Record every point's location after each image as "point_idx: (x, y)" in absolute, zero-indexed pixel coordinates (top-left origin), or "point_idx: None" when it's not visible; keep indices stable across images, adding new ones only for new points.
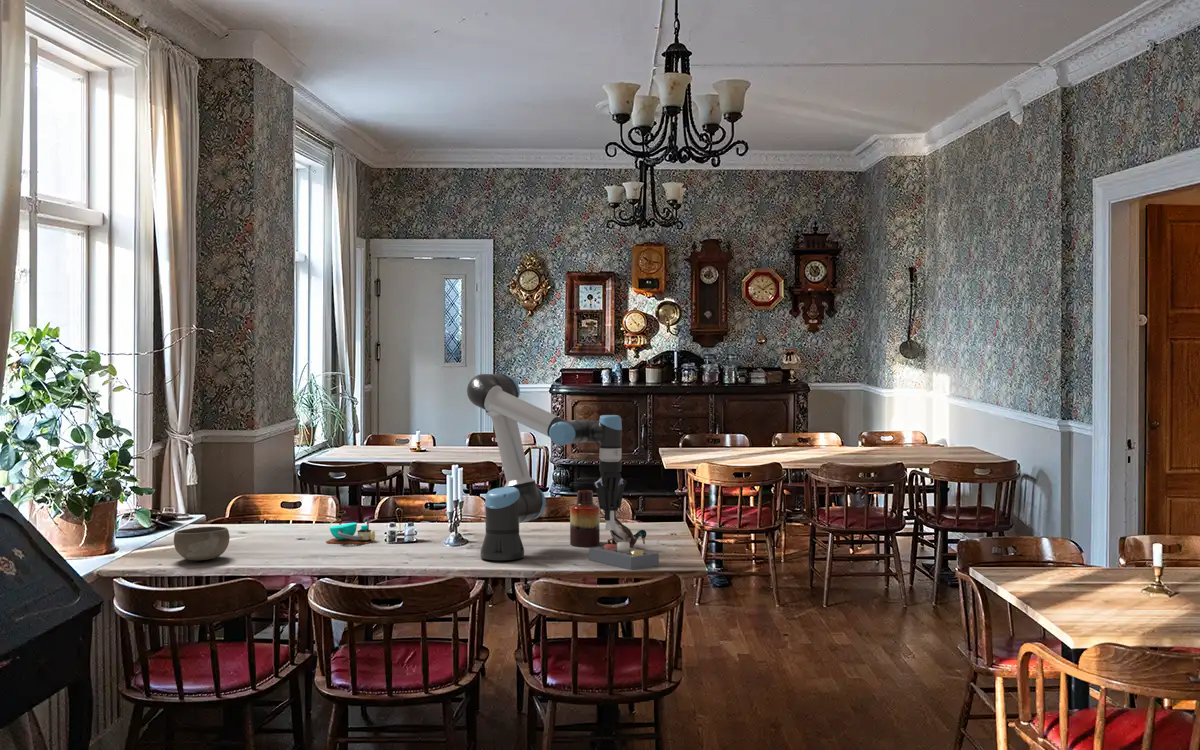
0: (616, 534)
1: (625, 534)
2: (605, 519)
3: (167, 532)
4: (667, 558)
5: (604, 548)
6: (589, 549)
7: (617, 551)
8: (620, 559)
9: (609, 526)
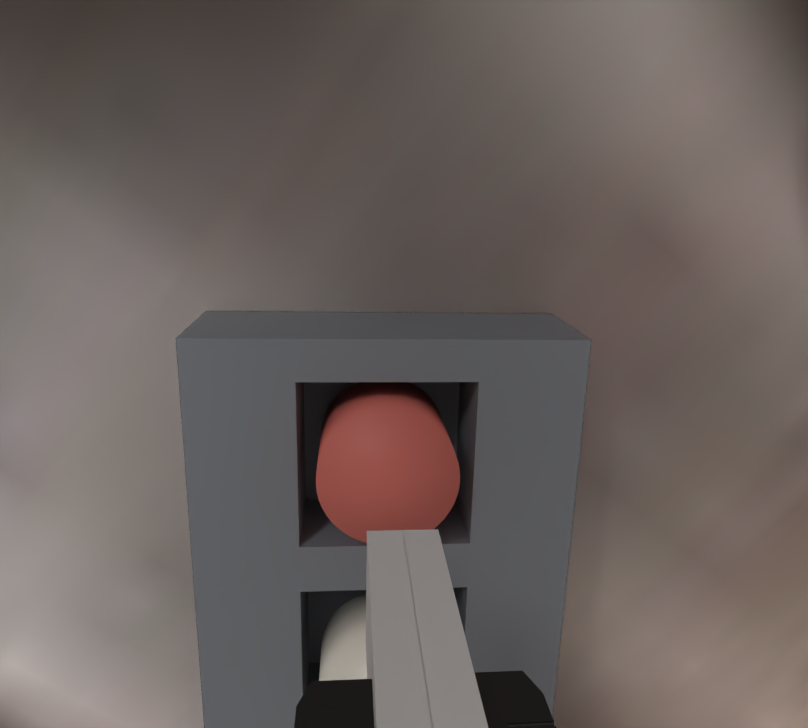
0: None
1: None
2: (303, 718)
3: None
4: (780, 637)
5: (319, 450)
6: (178, 344)
7: (324, 641)
8: None
9: (367, 655)
